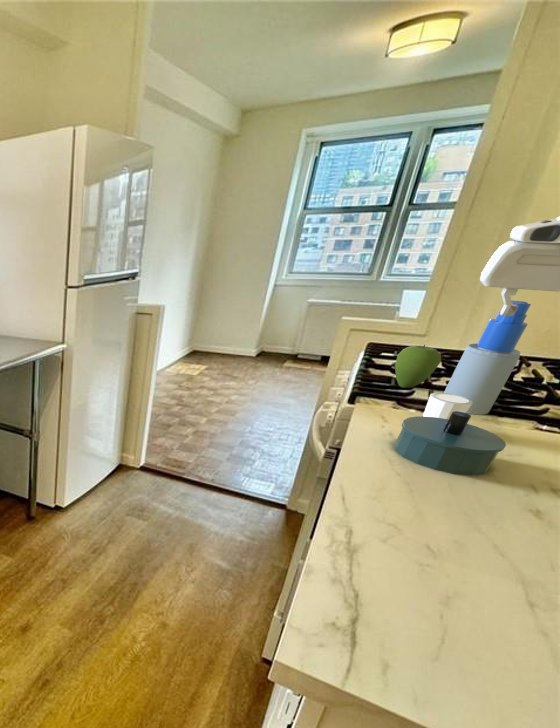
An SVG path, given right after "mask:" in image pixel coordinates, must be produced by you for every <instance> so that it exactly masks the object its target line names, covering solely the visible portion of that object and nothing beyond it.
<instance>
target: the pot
mask: <svg viewBox="0 0 560 728" xmlns="http://www.w3.org/2000/svg"><path fill="white" fill-rule="evenodd" d="M393 448H394V451H395V452H396V453H397V454H398V455H400V456H401V457H402V458H404V459H406V460H408V461H410V462H412V463H414V464H416V465H419V466H422V467H425V468H427V469H431V470H434V471H439V472H442V473H448V474H452V475H461V476H480V475H484V474H486V472H488V471H489V469H490V467H491V466H492V464H493V462H494V460H495V459H496V457H497V456H498V454H499V452H496V453H474V452H466V451H460V450H455V449H451V448H446V447H443V446H439V445H436V444H433V443H430V442H427V441H424V440H422V439H419V438H417V437H415V436H413V435H411V434H410V433H408V432H407V431H405V430H404V429H403V427H401V430H400V433H399V435H398V436H397V438H396V440H395V443H394V444H393Z"/></svg>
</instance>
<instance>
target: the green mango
mask: <svg viewBox="0 0 560 728" xmlns="http://www.w3.org/2000/svg"><path fill="white" fill-rule="evenodd" d="M441 362H442V354H441V353H440V352H439V351H438V349H435V348H433V347H430V346H426V344H424V345H409V346H407V347H405V348H403V349H402V350H401V351H400V352H399V353H398V354H397V357H396V360H395V363H394V368H395V369H394V370H395V379H396V381H397V385H398V386H399V387H400V388H403V389H404V388H405V389H411V388H414V387H416V386H418V385H420V384H422V383H423V382H425V381H426V380H427V379H428V378H429V377H431V375H432V374H433V373H434V372H435V371H436V369H437V368H438V366H440V364H441Z"/></svg>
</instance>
